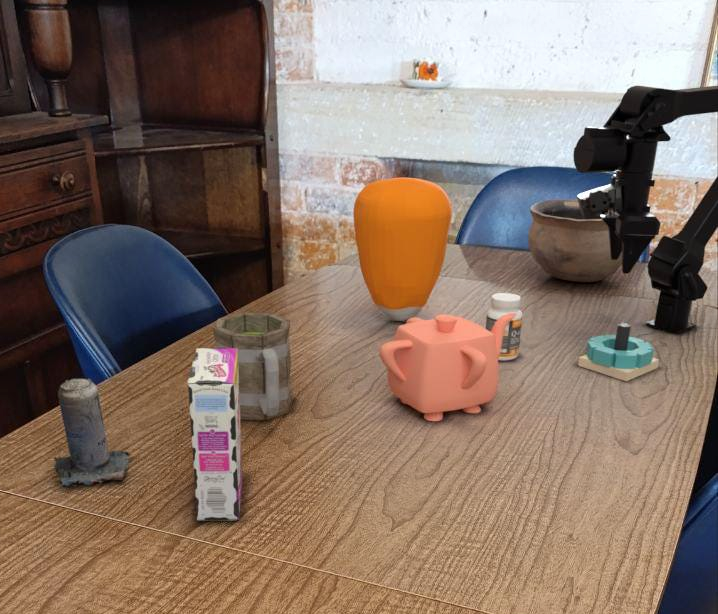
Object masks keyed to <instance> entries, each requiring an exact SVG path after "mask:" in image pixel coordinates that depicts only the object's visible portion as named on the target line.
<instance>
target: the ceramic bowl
mask: <svg viewBox="0 0 718 614" xmlns="http://www.w3.org/2000/svg"><path fill="white" fill-rule="evenodd" d="M529 211H530V214H531V217H532V218H533V219H532V221H531V224H530V227H529V228H528V229H529V230H528V236H527V239H528V240H527V241H528V247H529V251H530V253H531V255H532V257H533V259H534V261H535V262H536V263H537V264H538V265H539V266H540V267H541V269H542V270H543V271H544V272H545V273H547V274H548V275H549V276H551V277H553V278H556V279H560V280H563V281H567V282H574V283H595V282H600V281H602V280H604V279H607V278H608V277H610V276H611V275H613V274H614V273H617V271H618V270H619V268H620V267H622V252H621V254H620V256H619V258H618V259H617V260H612V259H611V252H610V241H609V231H608V226H607V225H606V223H605V222H604V221H603V220H602V219H601V217H600V215H601V214H600V213H597V214H594V216H591V217H587V218H585V217H583V215H582V214H581V212H580V207H579V203H578V198H552V199H547V200H542V201H538V202H536V203H533V204H532V205H531V206H530V208H529ZM604 215H605V214H604Z"/></svg>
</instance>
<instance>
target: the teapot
mask: <svg viewBox="0 0 718 614" xmlns="http://www.w3.org/2000/svg"><path fill="white" fill-rule="evenodd" d="M516 315H517V313H510V314H506V315H503V316H501V317H500V318H499V319H498V320H497V321H496V322H495V324H494V326H493V328H492V330H491V332H490V331H488V330H486V327H485V328H484V327H483V326H481V325H479V324H477V323H475V322H473V321H471V320H468V319H466V318H464V317H461V316H455V315H453V314H446V313H445V314H439V315H436V316H434V318H433V319H426V320H424V319H422V318H419V317H414V318H409V319H408V320H406V323H405V324H401V325H398V327H397V328H396V331H395V334H394V337H393V340H391V341H389V342H386V343H383V344H382V345H381V346H380V348H379V350H378V351H379V357H380V359H381V361H382V363H383V364H384V366H385V367H386V368H387V371H386V372H387V374H386V379H387V383H388V387H389V391H390V392H391V393H392V394H393V395H395V396H396V397H397V398H399V399H400V402H401V403H402V404H404V405H408V406H410V407H411V408H413V409H415V410H416V411H418V412H420V413H422V414H424V415H423V419H424V420H426V421H428V422H429V421H430V422H439V421H442V420H443V418H444V413H445V412H451V411H457V410H458V411H459V410H462V411H463V412H465V413H468V414H478V413H481V411H482V409H481V407H480V406H479V405H483V404H485V403H489V402H491V401H493V400H494V398H495V395H496V394H497V391H498V387H499V374H500V373H499V360H498V358H499V355H500V352H501V346H502V340H503V335H504V331H505V329H506V326H507V325H508V323H509V322H510V321H511V320H512V319H513V318H514V317H515V316H516Z"/></svg>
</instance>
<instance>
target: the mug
mask: <svg viewBox="0 0 718 614" xmlns="http://www.w3.org/2000/svg"><path fill="white" fill-rule="evenodd" d="M290 328H291V320H290V319H287V318H285V317H283V316H281V315H277V314H275V313H269V312H239V313H235V314H232V315H226V316H223V317H219V318H217V320H216V322H215V324H214V325H213V327H212V329H213V336H214V341H215V348H237V349H238V371H239V396H240V420H245V421H246V420H248V421H249V420H250V421H252V420H253V421H267V420H270V419H273V418H276V417H279V416H281V415H285V414H289V413H290V410H291V407H292V402H293V399H292V391H291V367H292V359H291V358H292V357H291V350H290V348H291V347H290Z"/></svg>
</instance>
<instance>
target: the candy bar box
mask: <svg viewBox="0 0 718 614" xmlns="http://www.w3.org/2000/svg"><path fill="white" fill-rule="evenodd" d="M191 363H192V364H191V368H190V372H189V376H188V379H187V390H188V391H187V392H188V406H189V407H188V408H189V420H190V435H191V436H190V437H191V450H192V465H193V467H192V468H193V481H194V493H195V495H194V496H195V510H196V521H198V522H216V521H217V522H231V521H239V520H240V514H241V501H242V489H243V488H242V487H243V451H242V426H241V425H242V424H241V423H242V422H241V419H240V396H239V371H238V349H237V348H216V347H202V348H201V347H200V348H199V347H198V348H196V349H195V352H194V356H193V360H192V362H191Z"/></svg>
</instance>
